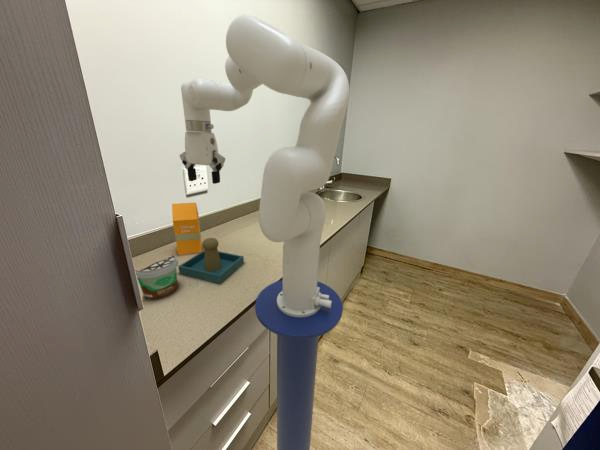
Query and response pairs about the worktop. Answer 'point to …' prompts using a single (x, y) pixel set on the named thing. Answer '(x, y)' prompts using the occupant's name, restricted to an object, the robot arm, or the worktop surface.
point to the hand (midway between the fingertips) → (204, 181)
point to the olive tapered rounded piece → (211, 255)
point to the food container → (159, 278)
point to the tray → (196, 270)
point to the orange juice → (186, 228)
